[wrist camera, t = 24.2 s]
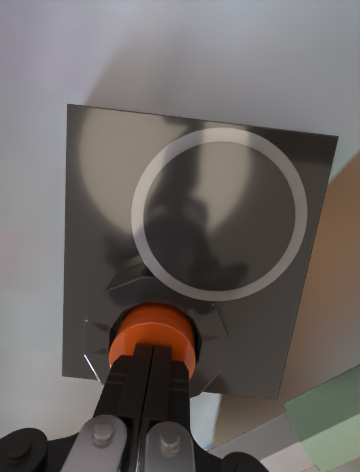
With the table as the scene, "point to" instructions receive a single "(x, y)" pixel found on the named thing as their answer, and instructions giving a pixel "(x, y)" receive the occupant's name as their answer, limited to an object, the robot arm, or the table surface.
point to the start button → (156, 332)
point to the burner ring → (219, 214)
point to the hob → (139, 275)
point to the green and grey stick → (308, 430)
